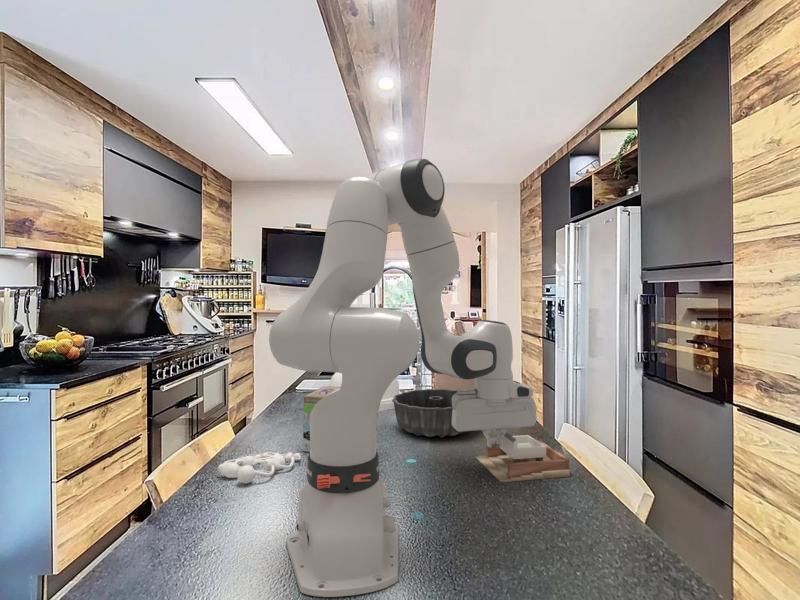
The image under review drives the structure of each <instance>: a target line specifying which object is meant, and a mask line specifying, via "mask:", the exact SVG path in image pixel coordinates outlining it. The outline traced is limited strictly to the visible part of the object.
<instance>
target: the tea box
mask: <svg viewBox="0 0 800 600" xmlns="http://www.w3.org/2000/svg"><path fill="white" fill-rule="evenodd" d="M338 390H340V387H334V386H329V385H323V386H321V387H320V388H318V389H316V390H313V391H312V392H309V393H308V394H305V395H304V396H303V421H302V423H303V424H302V426H303V430H302V431H303V433H302V436H303V437H302V451H303V452H305V453H310V415H311V412H312V409H313V408H314V406H315V405H316V403H317V402H318V401H320V400H321V399H323V398H324V397H326V396H328V395H330V394H332V393H334V392H336V391H338Z"/></svg>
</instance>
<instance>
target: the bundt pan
mask: <svg viewBox="0 0 800 600" xmlns="http://www.w3.org/2000/svg"><path fill="white" fill-rule="evenodd" d="M460 390H461V389H460ZM460 390H459V389H457V390H455V389H447V388H435V389H433V388H426V389H414V390H410V391H403V392H402V391H401V392H402V393H401V394H397V395H395V396H394V397H393V398H394V399H392V402H394V407H395V408H394V412H395V417H396V423H397V424H398V426H399V427H401V429H403V430H404V431H406V432H408V433H410V434H414V435H415V436H416V437H423V436H426V437H427V438H433V437H437V436H438V437H439V438H441V439H442V438H444V437H446V436H448V437H455V436H457V435H464V434H466V433H467V432H468V431H461V432H459V431H457V430H456V429H455V428H454V427H453V426H452V411H453V407H452V396H453V395H454V394H455V393H457V392H458V391H460ZM457 395H458V394H457Z"/></svg>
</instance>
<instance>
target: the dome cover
mask: <svg viewBox="0 0 800 600" xmlns="http://www.w3.org/2000/svg"><path fill="white" fill-rule="evenodd" d="M341 384H342V373H338V372H334V374H332V377H331V378H330V380H329V385H328V386H334V387H341ZM401 393H402V391H400V385H399V382H398V378H397V377H396V378H395V379H394V380H393V381H392V383H391V384H390V385H389V386H388V388H387V390H386V391H385V393H384V395H383V397H382V400H381V402H380V406H379V410H378V413H380V412H384V411H383V410H385V411H389V410H388V409H390V410H393V408H394V409H395V407H394V402H392V399H394V398H393V397H394V396H395V395H397V394H401Z"/></svg>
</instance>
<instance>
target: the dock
mask: <svg viewBox="0 0 800 600" xmlns="http://www.w3.org/2000/svg"><path fill="white" fill-rule="evenodd" d="M536 440H537V441H538V442H540V443H541V444H543V445H544V446H546V457H543V461H536V460H535V458H526V459H521V462H518V463H513V458H511V457H510V456H509V455H508V454H502V453H501V449H500V448H499V447H491V448H489V447H488V446H487V444H485V446H486V448H485V449H486V450H485V454H484V455H479V456H475V458H476V459H477V460H478V461H479V462H480V464H482V465H483V466H484V468H486V469H487V470H488V471H489V473H491V474H492V475H493V476H494V477H495V478H496V479H497V481H499V482H500V483H508V482H520V481H533V480H546V479H547V480H548V479H555V478H556V479H558V478H569V477H571V471H570V458H568V457H567V456H565V455H564V454H562V453H561V452H559V451H558V450H556V449H554V448H553V447H552V446H550V445H549V444H546V443H545V442H543V441H542V440H540V439H539V440H538V439H536Z"/></svg>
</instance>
